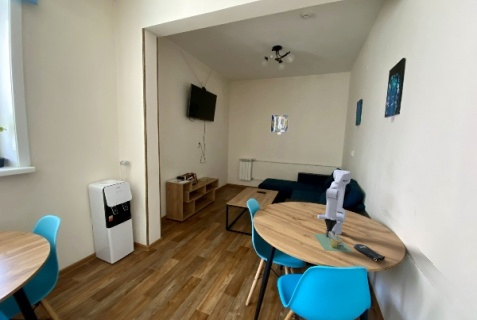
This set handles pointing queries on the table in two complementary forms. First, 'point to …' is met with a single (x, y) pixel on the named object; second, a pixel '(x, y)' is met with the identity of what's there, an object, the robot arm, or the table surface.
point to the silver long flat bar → (334, 237)
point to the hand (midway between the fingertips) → (329, 231)
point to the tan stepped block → (335, 242)
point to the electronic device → (368, 252)
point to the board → (325, 243)
